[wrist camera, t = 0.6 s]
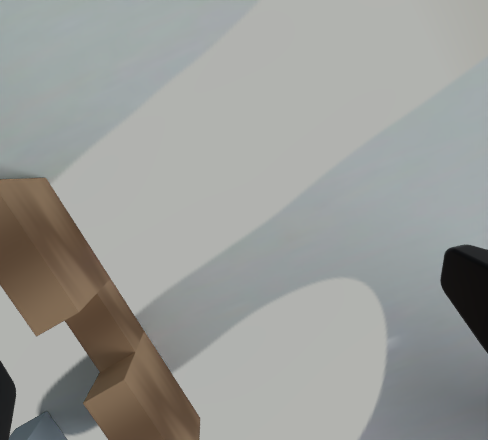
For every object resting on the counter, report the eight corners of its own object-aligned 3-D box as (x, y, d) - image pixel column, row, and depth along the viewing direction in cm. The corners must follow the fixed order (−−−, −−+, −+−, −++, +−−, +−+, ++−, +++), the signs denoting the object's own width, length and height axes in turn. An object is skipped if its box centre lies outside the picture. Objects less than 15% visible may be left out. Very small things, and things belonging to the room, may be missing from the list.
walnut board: (200, 418, 22) (197, 489, 17) (170, 435, 22) (158, 512, 17) (45, 177, 19) (-10, 179, 14) (11, 196, 19) (-56, 205, 14)
